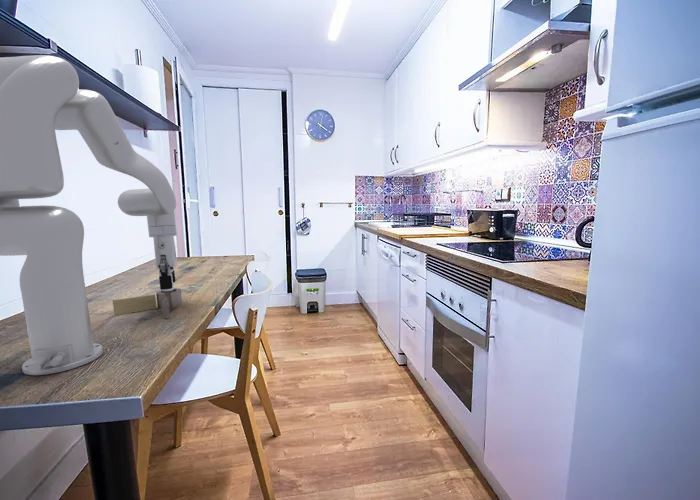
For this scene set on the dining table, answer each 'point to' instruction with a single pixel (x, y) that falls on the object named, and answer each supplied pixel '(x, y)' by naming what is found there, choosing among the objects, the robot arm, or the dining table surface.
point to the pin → (172, 284)
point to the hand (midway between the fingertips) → (168, 285)
